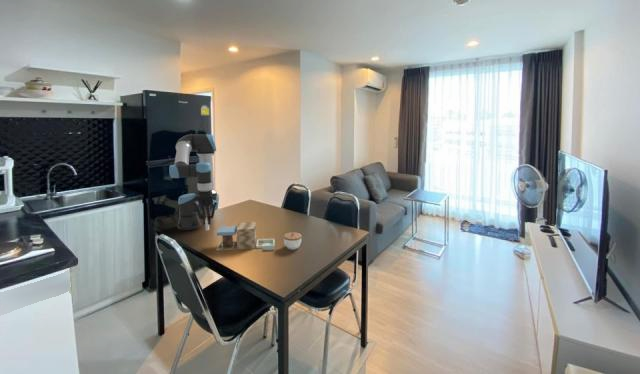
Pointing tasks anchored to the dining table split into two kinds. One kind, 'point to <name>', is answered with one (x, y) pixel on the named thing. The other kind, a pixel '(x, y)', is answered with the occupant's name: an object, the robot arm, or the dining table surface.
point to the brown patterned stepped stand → (243, 237)
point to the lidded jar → (292, 240)
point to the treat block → (227, 241)
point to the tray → (266, 244)
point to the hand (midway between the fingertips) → (207, 229)
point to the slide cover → (226, 230)
